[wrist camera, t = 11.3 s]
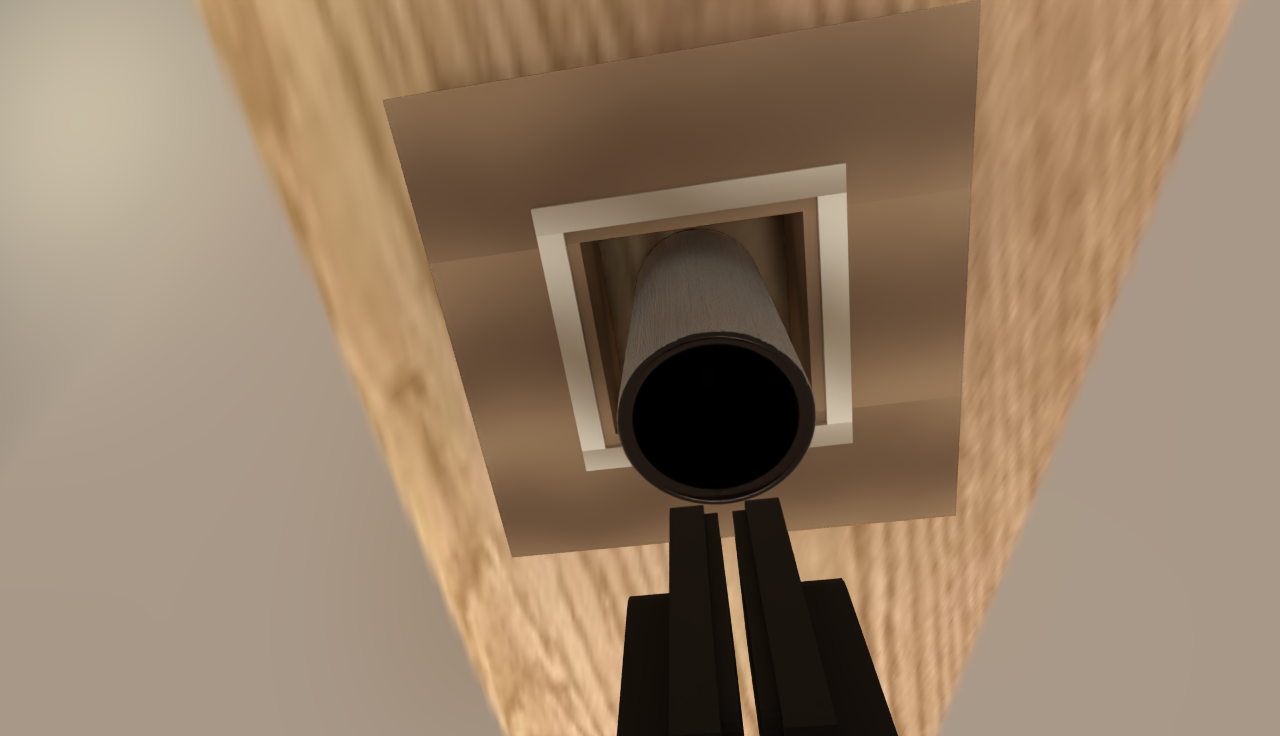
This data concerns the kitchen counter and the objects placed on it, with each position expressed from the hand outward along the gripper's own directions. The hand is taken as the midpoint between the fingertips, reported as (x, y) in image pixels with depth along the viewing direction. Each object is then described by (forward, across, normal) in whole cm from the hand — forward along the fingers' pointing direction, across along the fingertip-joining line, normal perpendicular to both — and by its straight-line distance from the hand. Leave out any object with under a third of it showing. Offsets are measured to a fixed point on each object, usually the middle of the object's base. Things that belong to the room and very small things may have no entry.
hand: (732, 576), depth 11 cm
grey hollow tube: (+15, 0, 0) cm, 15 cm away
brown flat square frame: (+15, 0, 0) cm, 15 cm away
